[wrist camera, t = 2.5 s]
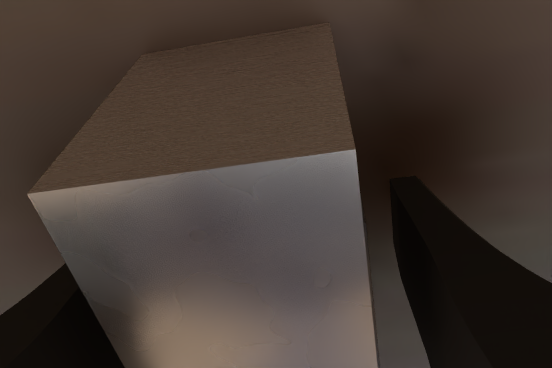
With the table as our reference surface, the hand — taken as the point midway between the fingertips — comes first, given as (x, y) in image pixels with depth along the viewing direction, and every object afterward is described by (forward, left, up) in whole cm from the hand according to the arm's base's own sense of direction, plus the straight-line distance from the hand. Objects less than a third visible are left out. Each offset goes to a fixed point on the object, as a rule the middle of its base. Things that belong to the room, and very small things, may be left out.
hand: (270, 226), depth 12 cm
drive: (0, 0, -2) cm, 2 cm away
